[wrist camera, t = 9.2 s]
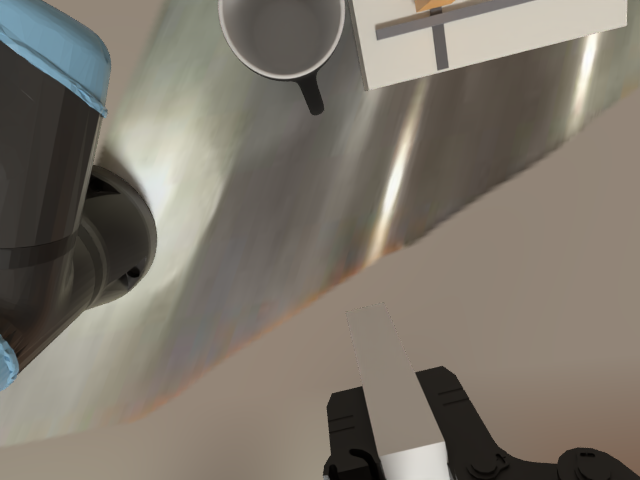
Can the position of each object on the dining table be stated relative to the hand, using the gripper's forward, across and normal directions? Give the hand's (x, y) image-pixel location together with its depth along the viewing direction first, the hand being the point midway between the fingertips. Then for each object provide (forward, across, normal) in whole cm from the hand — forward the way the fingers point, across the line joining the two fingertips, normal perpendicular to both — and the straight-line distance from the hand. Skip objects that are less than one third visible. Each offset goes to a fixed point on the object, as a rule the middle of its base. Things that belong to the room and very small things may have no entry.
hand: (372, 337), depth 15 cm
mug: (+29, 0, +14) cm, 32 cm away
